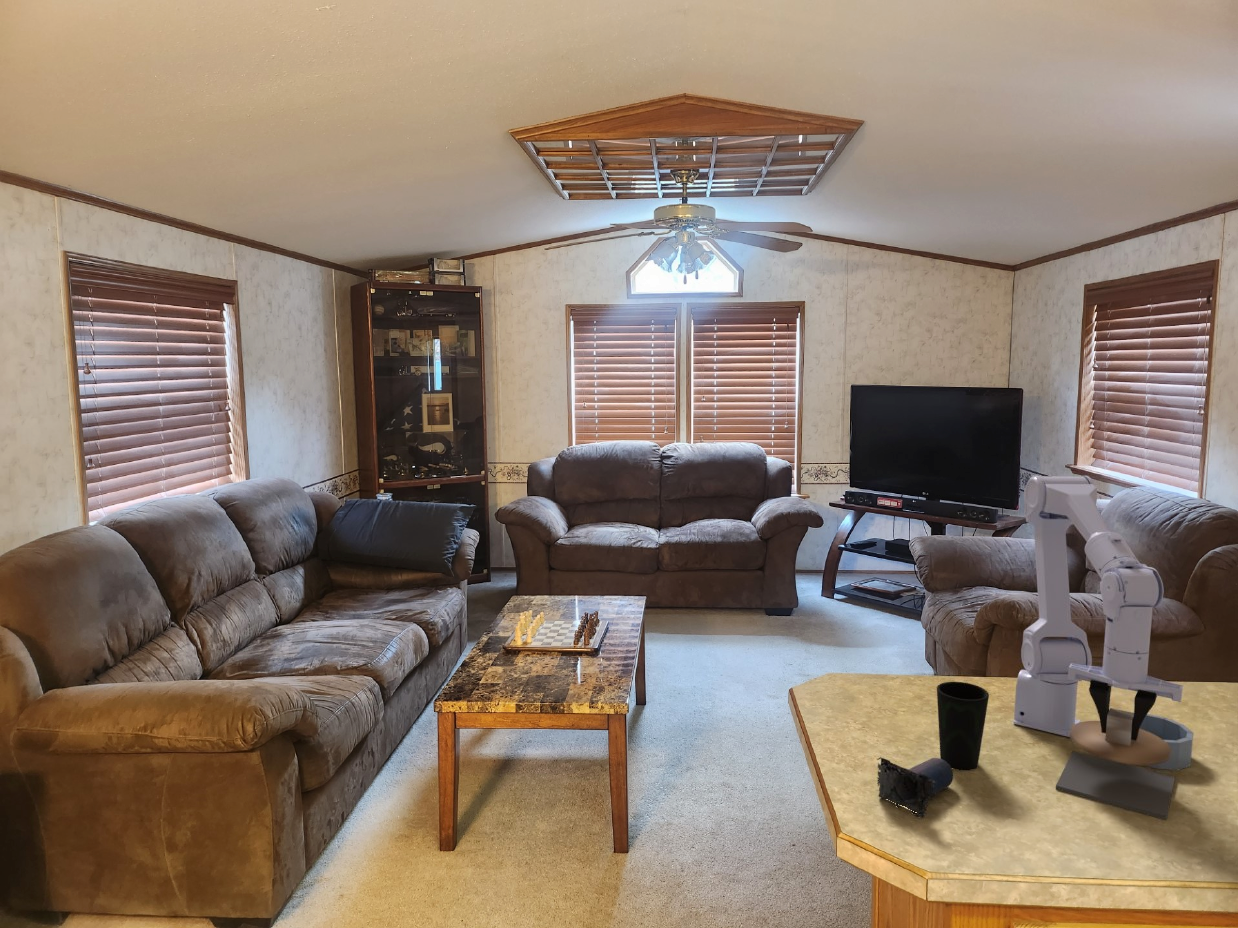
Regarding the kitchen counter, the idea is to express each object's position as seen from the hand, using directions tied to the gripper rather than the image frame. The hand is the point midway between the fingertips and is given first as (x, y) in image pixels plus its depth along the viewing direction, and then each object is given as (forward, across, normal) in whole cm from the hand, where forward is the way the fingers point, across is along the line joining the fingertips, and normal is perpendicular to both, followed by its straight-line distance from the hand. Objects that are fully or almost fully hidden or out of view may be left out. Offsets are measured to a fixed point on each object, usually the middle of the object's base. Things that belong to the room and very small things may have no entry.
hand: (1119, 734), depth 127 cm
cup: (+8, -21, -7) cm, 24 cm away
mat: (+8, 0, 0) cm, 8 cm away
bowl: (+8, +3, +15) cm, 17 cm away
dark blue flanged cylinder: (+8, -22, -21) cm, 32 cm away
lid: (+2, 0, 0) cm, 2 cm away
